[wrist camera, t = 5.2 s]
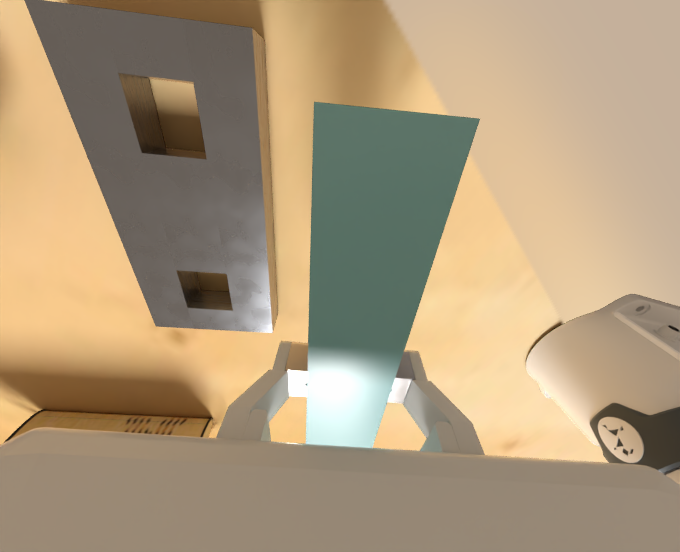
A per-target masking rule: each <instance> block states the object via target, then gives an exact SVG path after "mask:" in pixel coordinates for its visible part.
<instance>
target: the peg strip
mask: <svg viewBox="0 0 680 552" xmlns="http://www.w3.org/2000/svg"><path fill="white" fill-rule="evenodd" d="M479 120H480V119H477V118H466V117H456V116H447V115H438V114H428V113H418V112H408V111H398V110H388V109H379V108H369V107H359V106H349V105H339V104H330V103H320V102H314V124H313V166H312V208H311V249H310V291H309V332H308V374H307V416H306V444H317V445H333V446H349V447H365V448H372V447H373V444H374V441H375V438H376V435H377V432H378V429H379V426H380V423H381V419H382V416H383V413H384V410H385V407H386V404H387V401H388V398H389V395H390V392H391V389H392V386H393V383H394V380H395V377H396V374H397V371H398V368H399V365H400V361H401V358H402V355H403V352H404V349H405V346H406V343H407V340H408V337H409V334H410V331H411V328H412V325H413V322H414V319H415V316H416V313H417V310H418V307H419V303H420V300H421V297H422V294H423V291H424V288H425V285H426V282H427V279H428V276H429V273H430V270H431V267H432V264H433V261H434V258H435V255H436V252H437V249H438V245H439V242H440V239H441V236H442V233H443V230H444V227H445V224H446V221H447V218H448V215H449V212H450V209H451V206H452V203H453V200H454V197H455V194H456V190H457V187H458V184H459V181H460V178H461V175H462V172H463V169H464V166H465V163H466V160H467V157H468V154H469V151H470V148H471V145H472V142H473V138H474V135H475V132H476V129H477V126H478V123H479Z"/></svg>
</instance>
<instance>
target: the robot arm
mask: <svg viewBox="0 0 680 552" xmlns="http://www.w3.org/2000/svg"><path fill="white" fill-rule="evenodd" d="M526 370H527V372H528V374H529V375H530V376H531V377H532V378H533V379H534V380H535V381H536V382H537V383H538V384H539V388H540V391H541V392H542V393H543V394H544V395H545V397H547V398H552V399H553V400H554V401H555V402H556V404H557V405H558V406H559V407H560V408H561V409H562V410H563V411H564V413H565V414H566V415H567V416H568V417H569V418H570V419H571V420H572V422H573V423H574V424H575V425H576V426H577V427H578V428H579V429H580V430H581V431H582V433H583V434H584V435H585V436H586V437H587V438H588V439H589V440H590V441H591V442H592V443H593V444H595V445H597V446H599V447H601V448H602V450H603V455H604V457H605V458H606V460H607V461H608V462H609V463H603V462H587V461H571V460H555V459H539V458H523V457H507V456H492V455H485V454H484V452H483V449H482V447H481V444H480V442H479V439H478V437H477V434H476V432H475V429H474V427H473V424H472V422H471V421H470V420H469V419H468V418H467V417H466V416H465V415H464V414H463V413H462V412H461V411H460V410H459V409H458V408H457V407H456V406H455V405H454V404H453V403H452V402H451V401H450V400H449V399H448V398H447V397H446V396H445V395H444V394H443V393H442V392H441V391H440V390H439V389H438V388H437V387H436V386H435V385H434V384H433V383H432V382H431V381H428V380H427V377H426V374H425V370H424V367H423V364H422V361H421V357H420V354H419V352H418V351H408V350H404V352H403V355H402V358H401V361H400V365H399V368H398V371H397V374H396V377H395V380H394V383H393V386H392V389H391V392H390V395H389V398H388V401H387V402H392V403H403V405H404V407H405V408H406V409H407V411H408V412H409V414H410V415H411V417H412V418H413V419H414V421H415V422H416V424H417V425H418V427H419V428H420V429H421V431H422V432H423V434H424V435H425V437H426V438H427V439H426V441H425V443H424V445H423V446H422V448H421V450H420V451H412V450H397V449H381V448H365V447H349V446H333V445H317V444H302V443H286V442H271V437H270V429H269V421H270V420H271V419H272V418H273V416H274V415H275V414H276V413H277V411H278V410H279V409H280V408H281V406H282V405H283V404H284V403H285V401H286V400H287V399H288V398H289V396H307V374H308V343H300V342H289V341H281V343H280V345H279V348H278V352H277V355H276V359H275V362H274V366H273V369H272V370H268V371H267V372H266V373H265V374H264V375H263V376H262V377H261V378H260V379H258V380H257V381H256V382H255V383H254V384H253V385H252V386H251V387H250V388H248V389H247V390H246V391H245V392H244V393H243V394H242V395H241V396H240V397H239V398H237V399H236V400H235V401H234V402H233V403H232V404H231V405H230V406H229V407H228V410H227V412H226V414H225V417H224V419H223V422H222V424H221V427H220V429H219V432H218V434H217V437H216V438H206V437H191V436H175V435H159V434H144V433H128V432H112V431H97V430H81V429H66V428H52V427H40V428H35V429H32V430H29V431H27V432H25V433H23V434H20V435H18V436H16V437H14V438H12V439H10V440H8V441H6V442H5V443H3V444H1V445H0V552H680V307H678V306H675V305H671V304H668V303H665V302H661V301H657V300H654V299H651V298H647V297H643V296H640V295H636V294H629V295H626V296H624V297H621V298H619V299H617V300H616V301H614V302H612V303H610V304H609V305H607V306H605V307H604V308H602V309H600V310H598V311H595V312H592V313H589V314H586V315H583V316H580V317H577V318H575V319H573V320H571V321H568V322H566V323H564V324H562V325H561V326H559V327H557V328H556V329H554V330H552V331H551V332H550V333H548V334H547V335H546V336H544V337H543V338H542V339H541V340H540V341H539V342H538V343H537V344H536V345H535V346H534V348H533V349H532V350H531V352H530V353H529V355H528V358H527V361H526Z"/></svg>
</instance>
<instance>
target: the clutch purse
mask: <svg viewBox="0 0 680 552" xmlns="http://www.w3.org/2000/svg"><path fill="white" fill-rule="evenodd" d="M212 424H213V419H212V418H210V419H202V418H181V417H161V416H140V415H119V414H98V413H78V412H57V411H46V410H41V411H38V412H37V413H35V414H34V415H32V416H31V417H30V418H29V419H28V420H26V421H25V422H24V423H23V424H22V425H21V426H20V427H19V428H18V429H17V430H16V431H15V432H14V433H13V434H12V435H11V436H10V437H9V438H8V439H7V440H6V441H8V440H10V439H12V438H14V437H16V436H18V435H20V434H23V433H25V432H27V431H29V430H32V429H35V428H40V427H52V428H66V429H81V430H97V431H112V432H128V433H144V434H159V435H175V436H191V437H206V438H208V437H209V434H210V431H211V428H212ZM6 441H5V442H6ZM5 442H4V443H5Z"/></svg>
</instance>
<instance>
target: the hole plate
mask: <svg viewBox="0 0 680 552" xmlns="http://www.w3.org/2000/svg"><path fill="white" fill-rule="evenodd" d="M25 3H26V5H27V8H28V10H29V13H30V15H31V18H32V20H33V23H34V25H35V28H36V30H37V32H38V35H39V37H40V40H41V42H42V45H43V47H44V50H45V52H46V55H47V57H48V60H49V62H50V65H51V67H52V70H53V72H54V75H55V77H56V80H57V82H58V85H59V87H60V90H61V92H62V95H63V97H64V99H65V102H66V104H67V107H68V109H69V112H70V114H71V117H72V119H73V122H74V124H75V127H76V129H77V132H78V134H79V137H80V139H81V142H82V144H83V147H84V149H85V152H86V154H87V157H88V159H89V162H90V164H91V166H92V169H93V171H94V174H95V176H96V179H97V181H98V184H99V186H100V189H101V191H102V194H103V196H104V199H105V201H106V204H107V206H108V209H109V211H110V214H111V216H112V219H113V221H114V224H115V226H116V229H117V231H118V233H119V236H120V238H121V241H122V243H123V246H124V248H125V251H126V253H127V256H128V258H129V261H130V263H131V266H132V268H133V271H134V273H135V276H136V278H137V281H138V283H139V286H140V288H141V291H142V293H143V296H144V298H145V300H146V303H147V305H148V308H149V310H150V313H151V315H152V318H153V320H154V323H155V325H156V326H159V327H177V328H194V329H212V330H230V331H248V332H265V333H273V330H274V326H275V323H276V319H277V316H278V306H277V285H276V265H275V244H274V223H273V202H272V182H271V161H270V140H269V119H268V99H267V78H266V57H265V40H264V39H263V38H262V37H261V36H260V35H259V34H258V33H257V32H256V31H255V30H254V29H253V28H249V27H241V26H234V25H226V24H218V23H211V22H203V21H196V20H188V19H180V18H173V17H165V16H158V15H150V14H143V13H135V12H127V11H120V10H112V9H105V8H97V7H89V6H82V5H74V4H67V3H59V2H51V1H44V0H25ZM149 79H158V80H167V81H175V82H184V83H192V84H194V88H195V94H196V100H197V105H198V111H199V117H200V123H201V129H202V134H203V140H204V146H205V152H202V151H192V150H182V149H172V148H166V147H165V143H164V138H163V134H162V130H161V126H160V122H159V118H158V114H157V110H156V106H155V102H154V98H153V94H152V90H151V86H150V82H149ZM197 272H208V273H222V274H227V279H228V285H229V291H230V292H222V291H207V290H201V288H200V284H199V280H198V276H197Z"/></svg>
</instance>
